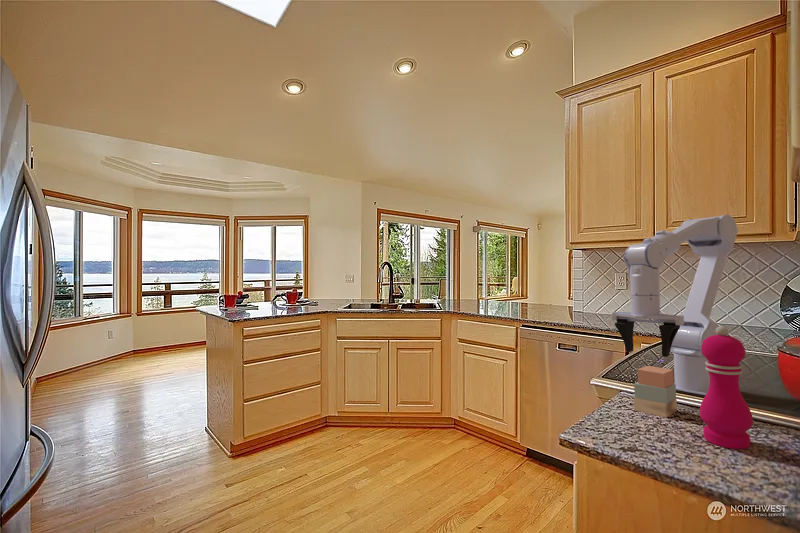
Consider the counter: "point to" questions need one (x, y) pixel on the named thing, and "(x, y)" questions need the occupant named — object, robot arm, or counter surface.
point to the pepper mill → (725, 393)
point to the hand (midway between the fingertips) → (647, 353)
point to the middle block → (655, 393)
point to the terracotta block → (655, 376)
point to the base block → (655, 407)
